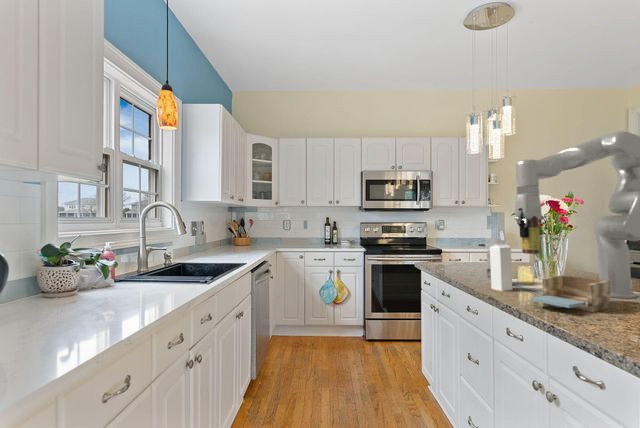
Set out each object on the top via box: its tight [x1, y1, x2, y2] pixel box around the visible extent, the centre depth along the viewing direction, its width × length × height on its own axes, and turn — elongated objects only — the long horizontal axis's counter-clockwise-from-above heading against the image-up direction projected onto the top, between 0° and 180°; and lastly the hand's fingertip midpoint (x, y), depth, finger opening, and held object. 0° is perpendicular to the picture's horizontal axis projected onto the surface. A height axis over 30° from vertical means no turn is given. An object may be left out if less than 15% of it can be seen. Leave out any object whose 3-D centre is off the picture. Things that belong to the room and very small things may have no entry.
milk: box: [489, 239, 513, 292], centre depth 151 cm, size 6×6×22 cm
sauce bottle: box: [520, 216, 541, 255], centre depth 133 cm, size 7×6×20 cm
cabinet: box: [542, 274, 612, 313], centre depth 121 cm, size 12×16×9 cm
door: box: [529, 295, 586, 309], centre depth 117 cm, size 10×12×2 cm
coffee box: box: [486, 250, 491, 285], centre depth 164 cm, size 9×6×16 cm
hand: (530, 236), depth 133 cm, fingers closed on sauce bottle, 6 cm apart
